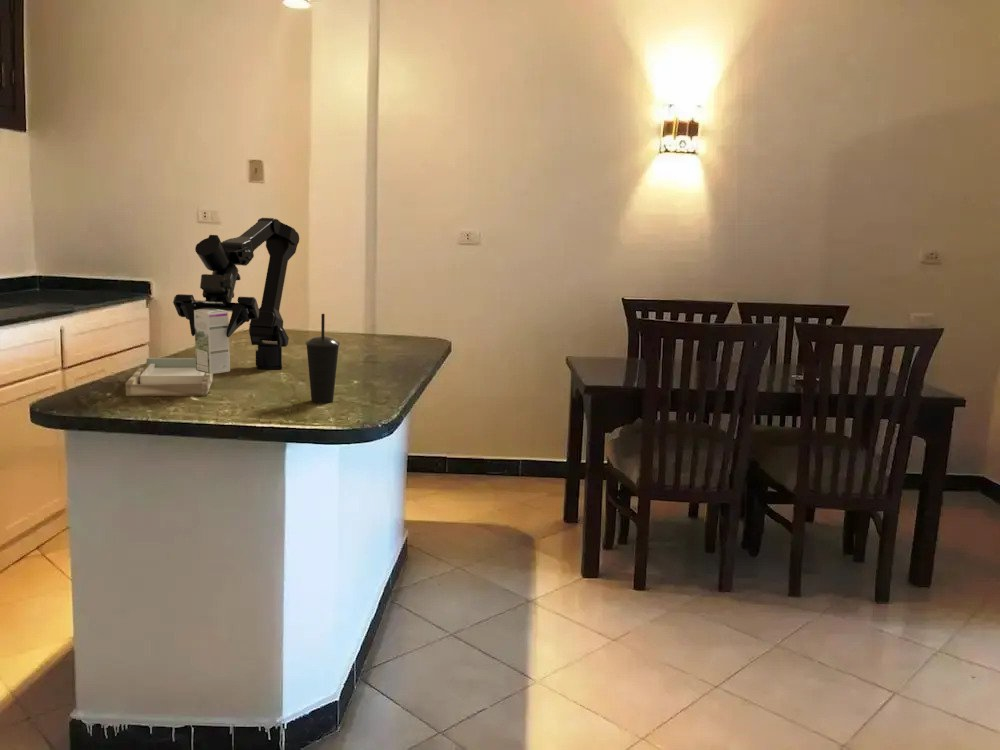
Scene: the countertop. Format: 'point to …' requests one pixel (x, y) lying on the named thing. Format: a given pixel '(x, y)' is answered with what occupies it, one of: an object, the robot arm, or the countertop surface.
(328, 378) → the drinking cup
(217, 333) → the syrup box
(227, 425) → the countertop surface
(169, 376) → the tray
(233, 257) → the robot arm
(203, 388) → the dock
